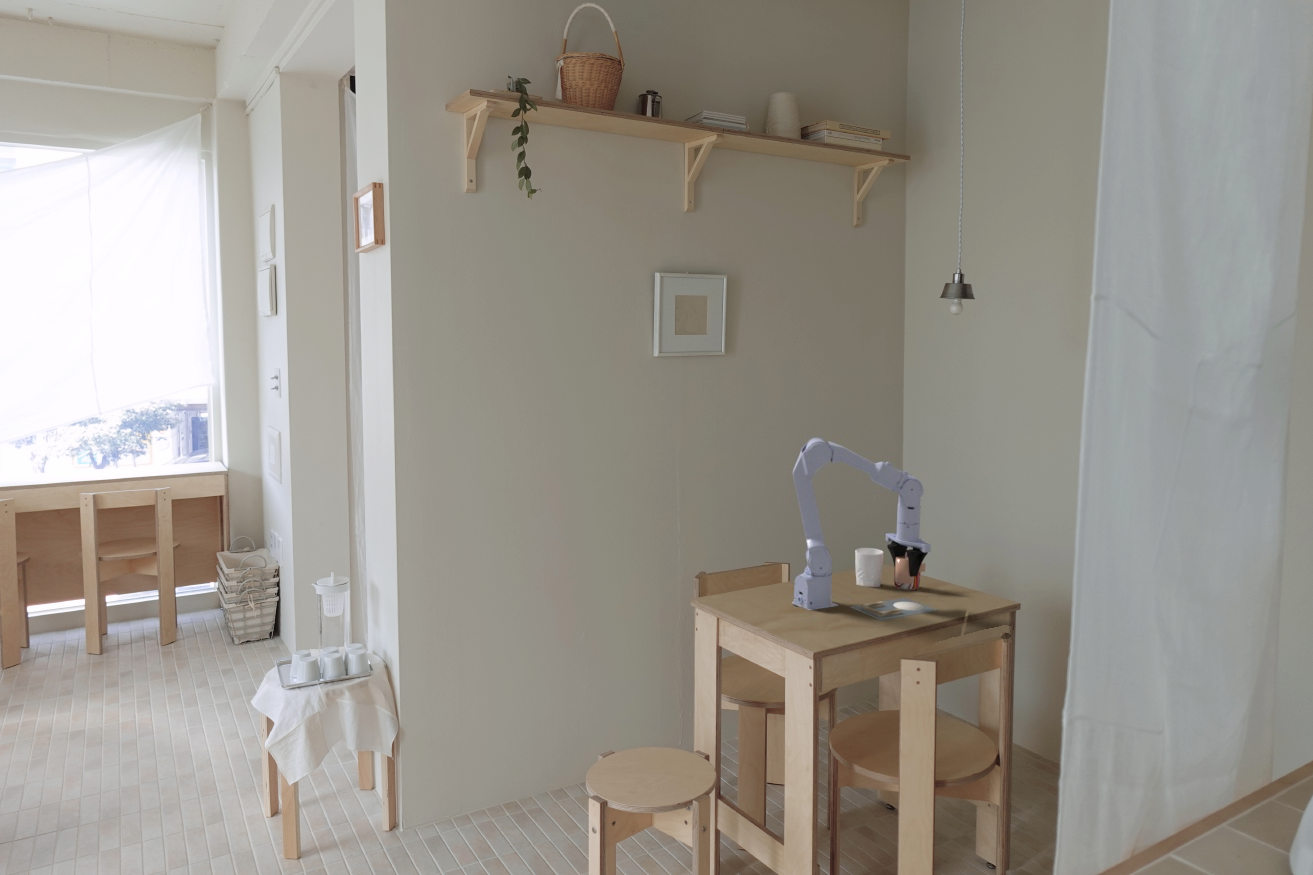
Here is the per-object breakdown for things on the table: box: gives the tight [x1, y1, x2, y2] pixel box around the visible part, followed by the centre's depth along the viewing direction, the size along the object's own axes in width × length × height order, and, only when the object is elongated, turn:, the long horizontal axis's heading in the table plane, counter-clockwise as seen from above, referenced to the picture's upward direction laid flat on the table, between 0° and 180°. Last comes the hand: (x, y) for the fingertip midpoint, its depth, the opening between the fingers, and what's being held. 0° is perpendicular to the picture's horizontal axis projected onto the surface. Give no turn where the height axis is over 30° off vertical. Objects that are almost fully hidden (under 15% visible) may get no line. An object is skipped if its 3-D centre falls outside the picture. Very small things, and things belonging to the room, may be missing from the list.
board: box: [849, 597, 938, 621], centre depth 233 cm, size 19×12×1 cm, turn 117°
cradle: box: [860, 601, 902, 617], centre depth 231 cm, size 7×8×1 cm
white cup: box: [854, 547, 884, 588], centre depth 256 cm, size 8×8×10 cm
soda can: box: [893, 547, 921, 591], centre depth 253 cm, size 7×7×12 cm
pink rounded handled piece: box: [894, 556, 926, 584], centre depth 234 cm, size 9×5×6 cm, turn 122°
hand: (906, 573), depth 233 cm, fingers closed on pink rounded handled piece, 5 cm apart
